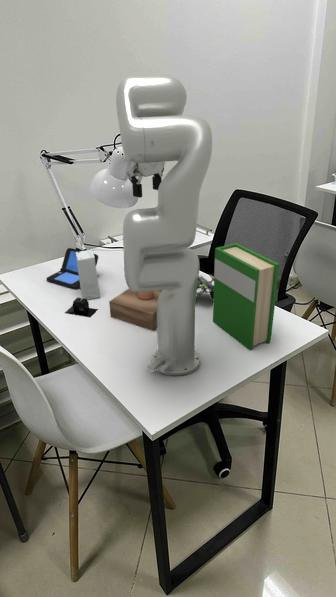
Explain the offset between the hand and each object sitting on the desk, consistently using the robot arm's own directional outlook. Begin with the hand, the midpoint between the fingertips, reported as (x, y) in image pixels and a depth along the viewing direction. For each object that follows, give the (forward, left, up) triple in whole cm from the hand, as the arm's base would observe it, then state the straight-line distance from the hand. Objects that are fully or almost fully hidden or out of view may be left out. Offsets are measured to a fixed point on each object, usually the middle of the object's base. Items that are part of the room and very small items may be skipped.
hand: (147, 193), depth 133 cm
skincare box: (-13, +17, -35) cm, 41 cm away
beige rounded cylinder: (-12, -7, -29) cm, 32 cm away
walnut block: (-12, -7, -35) cm, 38 cm away
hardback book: (-6, -37, -35) cm, 51 cm away
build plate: (-23, +11, -35) cm, 43 cm away
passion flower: (+4, -17, -35) cm, 39 cm away
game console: (-7, +31, -35) cm, 47 cm away
